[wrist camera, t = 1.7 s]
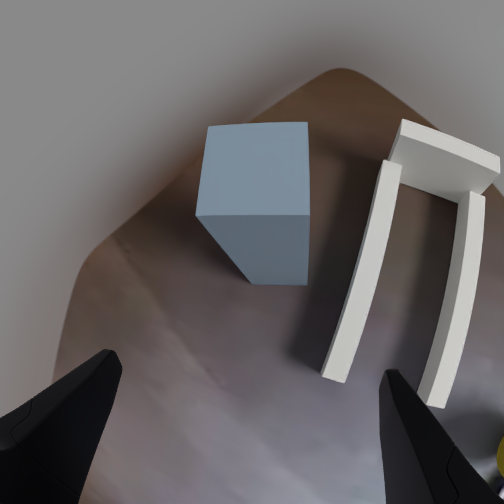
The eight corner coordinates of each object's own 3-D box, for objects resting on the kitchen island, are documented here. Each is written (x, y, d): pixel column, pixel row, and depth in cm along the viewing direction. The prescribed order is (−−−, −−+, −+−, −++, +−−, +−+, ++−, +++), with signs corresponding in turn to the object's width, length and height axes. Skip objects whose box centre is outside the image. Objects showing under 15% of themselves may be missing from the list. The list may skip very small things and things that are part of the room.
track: (431, 403, 19) (466, 417, 13) (320, 373, 21) (326, 382, 16) (473, 194, 23) (504, 159, 17) (380, 161, 25) (395, 116, 19)
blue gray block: (307, 285, 23) (309, 214, 11) (252, 284, 24) (195, 215, 11) (307, 232, 24) (307, 122, 12) (255, 232, 25) (208, 126, 13)
